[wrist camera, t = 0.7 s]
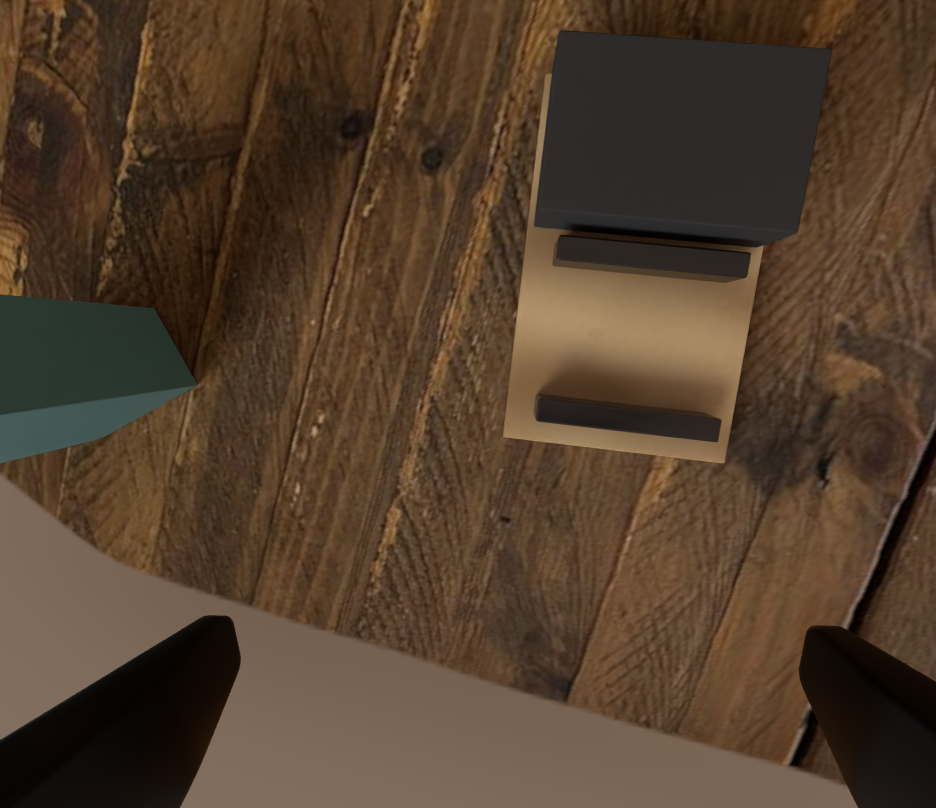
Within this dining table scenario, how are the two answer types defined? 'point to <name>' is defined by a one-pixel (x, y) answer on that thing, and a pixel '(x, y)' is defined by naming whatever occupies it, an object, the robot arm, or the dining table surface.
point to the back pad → (80, 371)
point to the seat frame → (654, 235)
